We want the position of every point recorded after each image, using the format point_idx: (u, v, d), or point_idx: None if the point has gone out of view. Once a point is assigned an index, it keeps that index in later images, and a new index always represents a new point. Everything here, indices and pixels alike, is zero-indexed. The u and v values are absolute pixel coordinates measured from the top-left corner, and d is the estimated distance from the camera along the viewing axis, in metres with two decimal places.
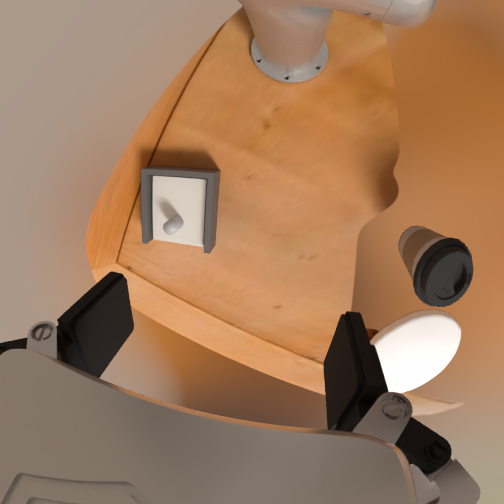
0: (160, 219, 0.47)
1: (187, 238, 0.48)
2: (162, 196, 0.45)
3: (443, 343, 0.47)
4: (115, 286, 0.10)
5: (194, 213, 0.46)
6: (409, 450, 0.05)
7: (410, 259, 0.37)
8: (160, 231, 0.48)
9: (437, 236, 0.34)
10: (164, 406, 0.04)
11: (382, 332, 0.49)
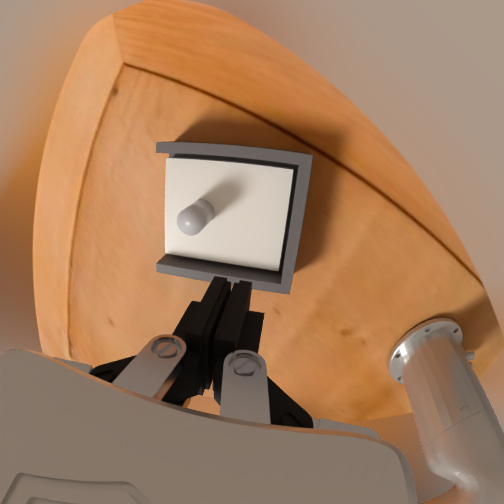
0: (205, 177, 0.24)
1: (175, 227, 0.27)
2: (250, 186, 0.24)
3: None
4: (227, 291, 0.11)
5: (219, 245, 0.27)
6: None
7: None
8: (182, 175, 0.24)
9: None
10: (164, 406, 0.04)
11: None
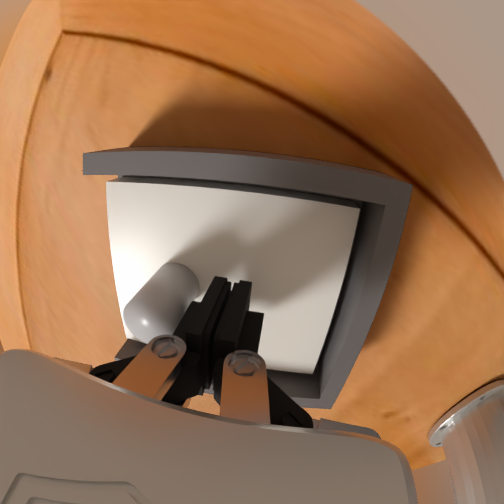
0: (177, 220, 0.12)
1: None
2: (270, 240, 0.12)
3: None
4: (227, 291, 0.11)
5: None
6: None
7: None
8: (135, 214, 0.12)
9: None
10: (164, 406, 0.04)
11: None
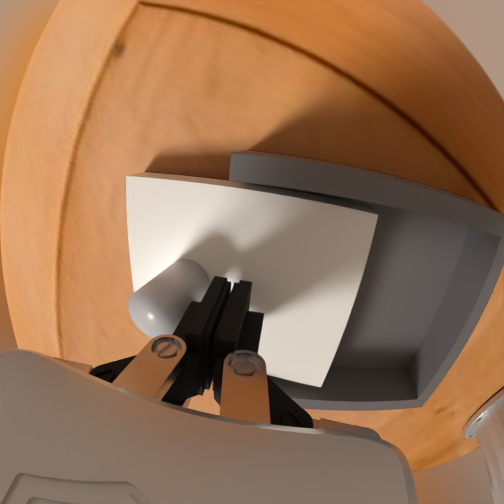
0: (191, 217, 0.12)
1: None
2: (282, 243, 0.11)
3: None
4: (227, 291, 0.11)
5: None
6: None
7: None
8: (151, 209, 0.13)
9: None
10: (164, 406, 0.04)
11: None
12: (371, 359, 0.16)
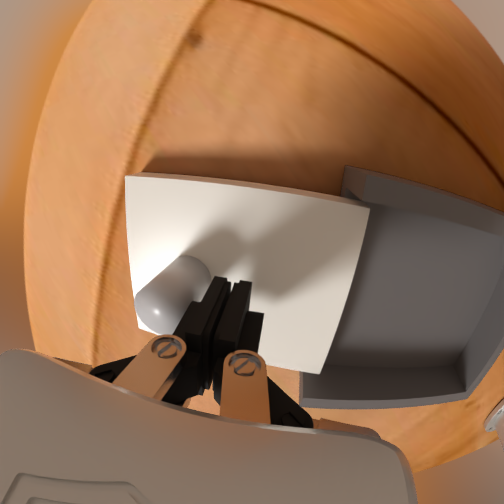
0: (192, 214, 0.13)
1: None
2: (281, 237, 0.12)
3: None
4: (227, 291, 0.11)
5: None
6: None
7: None
8: (152, 208, 0.13)
9: None
10: (164, 406, 0.04)
11: None
12: (427, 359, 0.15)
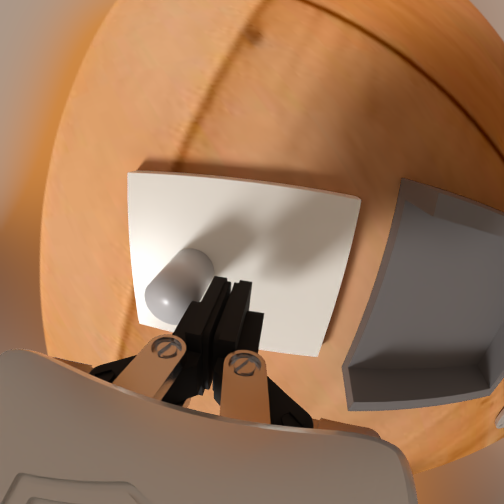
0: (196, 208, 0.13)
1: None
2: (281, 227, 0.13)
3: None
4: (227, 291, 0.11)
5: None
6: None
7: None
8: (155, 203, 0.13)
9: None
10: (164, 406, 0.04)
11: None
12: (457, 359, 0.15)
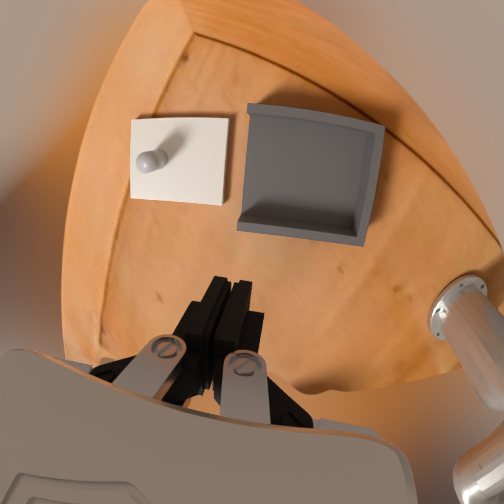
0: (160, 131, 0.28)
1: (138, 175, 0.30)
2: (195, 134, 0.28)
3: None
4: (227, 291, 0.11)
5: (172, 186, 0.30)
6: None
7: None
8: (143, 131, 0.28)
9: None
10: (164, 406, 0.04)
11: None
12: (325, 217, 0.30)
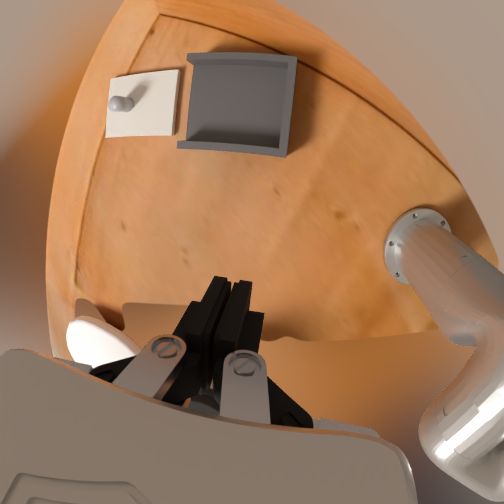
0: (130, 84, 0.32)
1: (112, 118, 0.34)
2: (154, 83, 0.31)
3: None
4: (227, 291, 0.11)
5: (136, 124, 0.34)
6: None
7: None
8: (118, 86, 0.32)
9: None
10: (164, 406, 0.04)
11: (125, 339, 0.48)
12: (255, 139, 0.33)
